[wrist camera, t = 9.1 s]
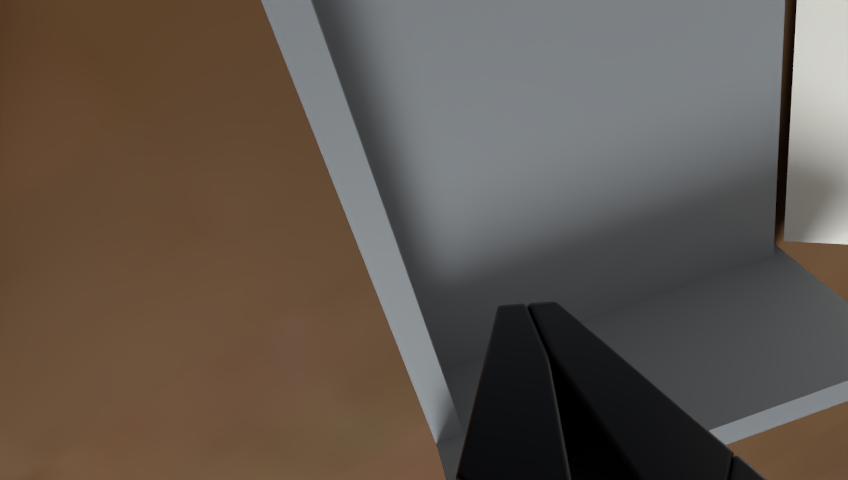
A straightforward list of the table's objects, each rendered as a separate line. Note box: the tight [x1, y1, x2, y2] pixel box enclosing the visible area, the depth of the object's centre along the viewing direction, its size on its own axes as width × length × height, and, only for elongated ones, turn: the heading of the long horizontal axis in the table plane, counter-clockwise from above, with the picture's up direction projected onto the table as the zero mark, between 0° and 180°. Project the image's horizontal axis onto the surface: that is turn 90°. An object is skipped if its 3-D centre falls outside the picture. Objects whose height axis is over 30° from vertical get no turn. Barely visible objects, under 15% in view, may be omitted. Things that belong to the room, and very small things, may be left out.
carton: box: [261, 0, 848, 480], centre depth 17 cm, size 15×25×7 cm, turn 15°
